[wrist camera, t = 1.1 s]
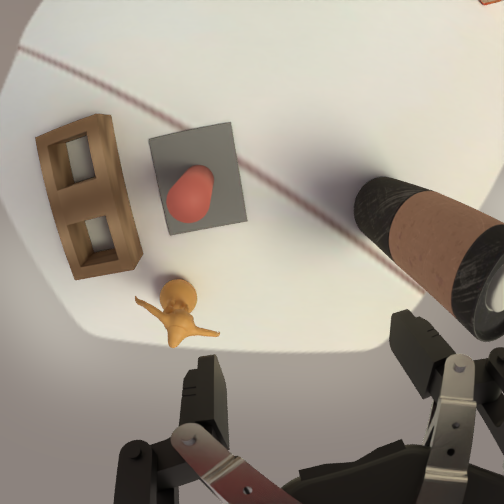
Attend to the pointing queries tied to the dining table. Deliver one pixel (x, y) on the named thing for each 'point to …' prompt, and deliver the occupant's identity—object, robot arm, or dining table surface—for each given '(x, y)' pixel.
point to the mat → (207, 154)
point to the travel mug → (440, 249)
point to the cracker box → (489, 1)
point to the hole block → (89, 198)
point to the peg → (191, 194)
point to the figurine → (177, 311)
